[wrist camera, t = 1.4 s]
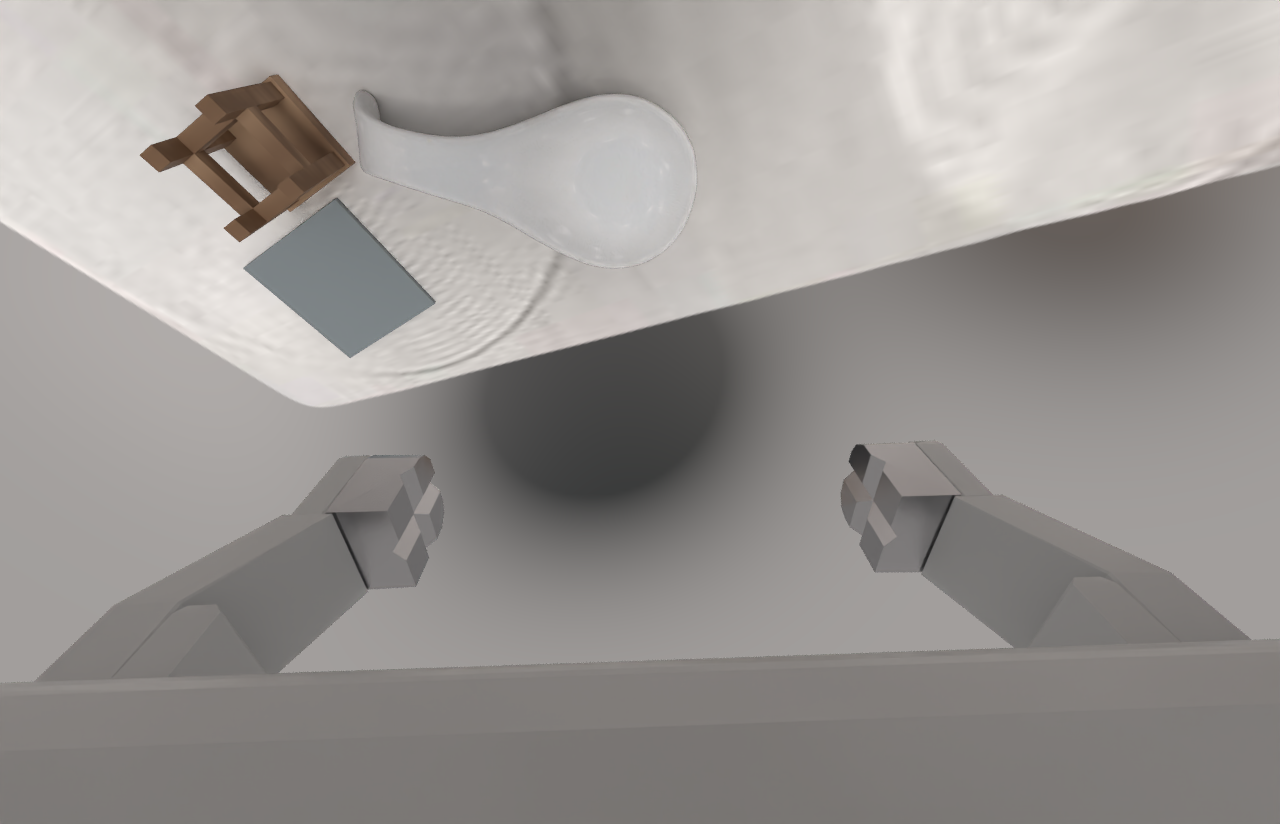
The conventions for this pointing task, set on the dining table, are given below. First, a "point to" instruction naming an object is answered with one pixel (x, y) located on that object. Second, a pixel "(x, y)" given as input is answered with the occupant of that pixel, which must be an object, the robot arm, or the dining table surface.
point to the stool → (256, 151)
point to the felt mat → (340, 280)
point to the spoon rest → (555, 174)
